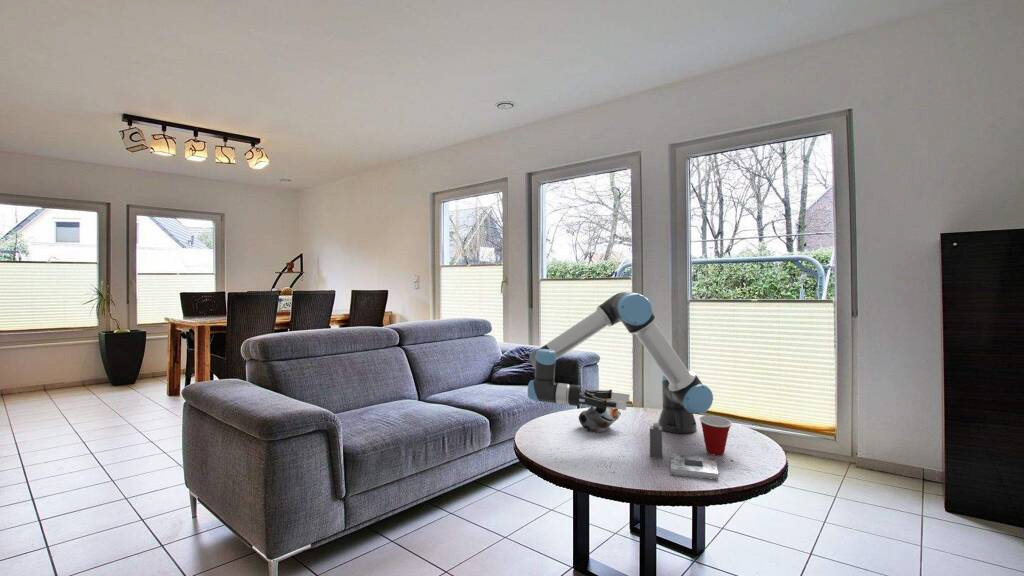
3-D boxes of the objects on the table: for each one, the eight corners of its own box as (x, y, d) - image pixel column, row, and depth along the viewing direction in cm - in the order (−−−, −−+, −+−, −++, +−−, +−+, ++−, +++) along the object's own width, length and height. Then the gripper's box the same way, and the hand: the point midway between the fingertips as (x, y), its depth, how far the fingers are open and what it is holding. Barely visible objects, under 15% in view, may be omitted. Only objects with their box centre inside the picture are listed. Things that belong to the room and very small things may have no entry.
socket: (671, 459, 174) (671, 452, 174) (715, 464, 170) (715, 456, 170) (670, 474, 161) (670, 466, 161) (718, 479, 156) (718, 471, 156)
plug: (650, 453, 180) (650, 421, 180) (662, 454, 179) (662, 422, 179) (649, 457, 177) (649, 424, 176) (661, 458, 175) (661, 425, 175)
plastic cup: (717, 460, 173) (717, 425, 173) (692, 450, 183) (692, 417, 182) (739, 455, 178) (739, 421, 178) (714, 446, 188) (714, 414, 187)
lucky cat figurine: (607, 422, 218) (620, 397, 213) (613, 441, 207) (627, 415, 202) (574, 414, 216) (587, 388, 210) (579, 433, 205) (593, 406, 199)
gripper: (574, 397, 199) (630, 404, 193) (561, 412, 175) (624, 420, 169) (575, 378, 199) (631, 384, 193) (563, 391, 175) (625, 398, 169)
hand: (628, 401), depth 181 cm, fingers open, 13 cm apart
